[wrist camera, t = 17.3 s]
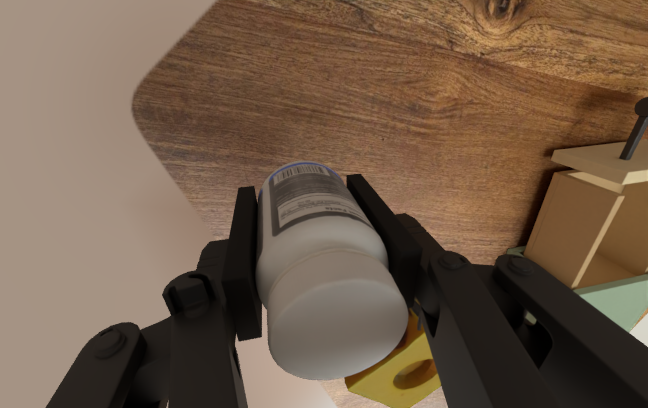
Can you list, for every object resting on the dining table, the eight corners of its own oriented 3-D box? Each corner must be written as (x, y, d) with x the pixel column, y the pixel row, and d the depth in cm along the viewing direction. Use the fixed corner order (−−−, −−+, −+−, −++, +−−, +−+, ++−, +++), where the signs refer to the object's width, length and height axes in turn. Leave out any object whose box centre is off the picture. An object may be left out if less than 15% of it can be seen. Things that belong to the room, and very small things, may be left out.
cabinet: (507, 248, 36) (571, 297, 29) (591, 233, 38) (671, 275, 31) (479, 331, 44) (524, 386, 37) (550, 314, 46) (606, 363, 39)
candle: (322, 308, 34) (342, 391, 26) (383, 257, 32) (427, 328, 24) (369, 337, 39) (400, 416, 30) (425, 294, 37) (475, 365, 29)
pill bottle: (314, 247, 16) (355, 399, 9) (241, 215, 14) (219, 375, 7) (362, 184, 15) (455, 304, 8) (288, 139, 13) (320, 243, 6)
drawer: (574, 93, 27) (664, 103, 21) (673, 85, 29) (781, 92, 23) (513, 262, 36) (561, 301, 31) (589, 248, 38) (649, 282, 33)
